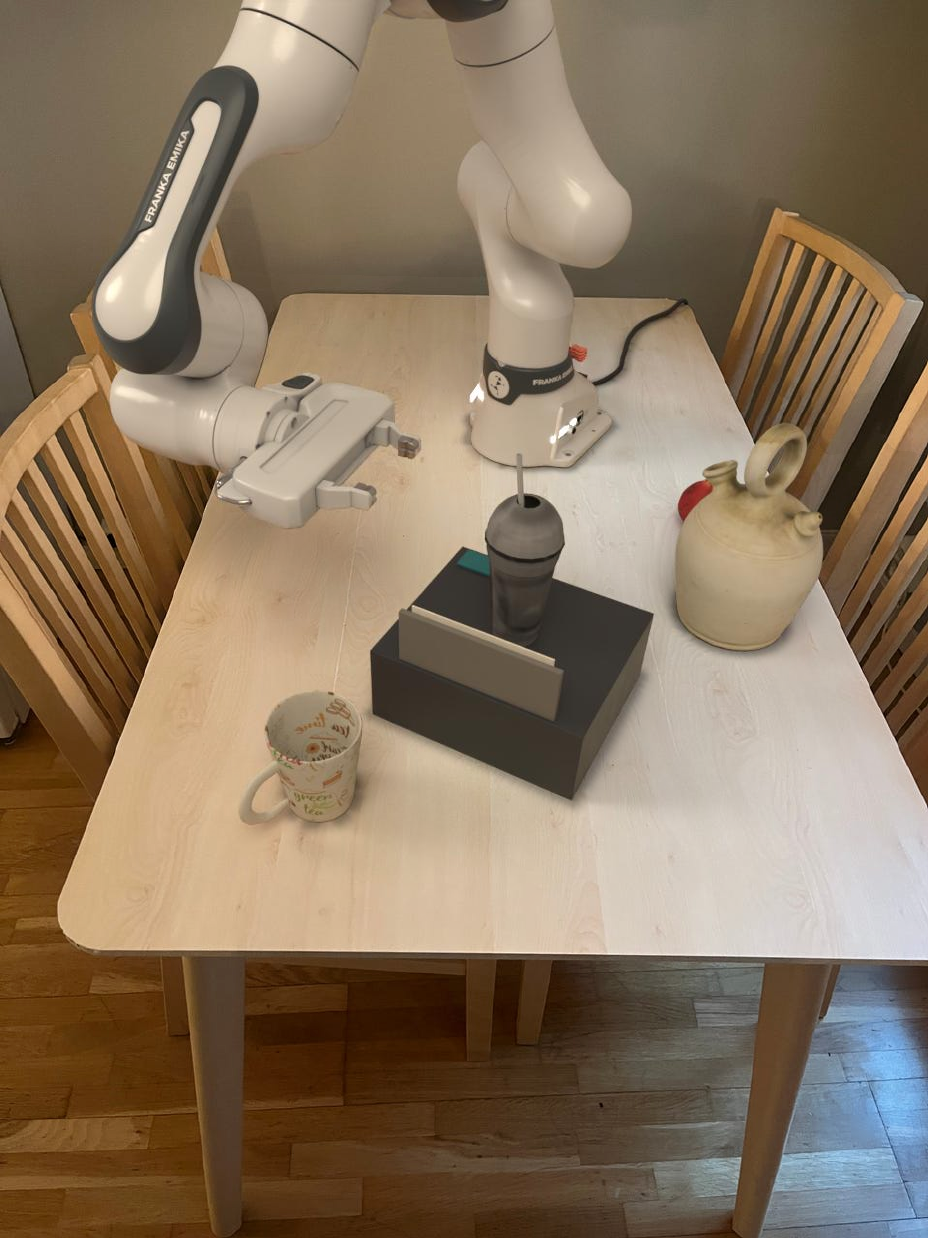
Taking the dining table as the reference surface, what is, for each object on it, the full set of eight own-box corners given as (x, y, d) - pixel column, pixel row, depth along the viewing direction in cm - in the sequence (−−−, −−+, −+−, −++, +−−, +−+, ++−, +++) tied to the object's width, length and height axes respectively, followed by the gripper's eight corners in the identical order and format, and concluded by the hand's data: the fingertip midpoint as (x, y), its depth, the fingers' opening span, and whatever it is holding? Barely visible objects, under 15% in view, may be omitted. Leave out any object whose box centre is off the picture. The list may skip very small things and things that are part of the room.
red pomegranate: (669, 536, 119) (682, 484, 113) (676, 512, 123) (688, 460, 118) (715, 547, 118) (729, 494, 112) (720, 522, 122) (735, 470, 116)
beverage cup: (546, 663, 88) (571, 486, 74) (471, 650, 89) (482, 473, 75) (556, 613, 93) (581, 440, 80) (485, 602, 94) (498, 428, 81)
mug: (384, 794, 87) (382, 723, 80) (280, 880, 80) (267, 810, 73) (324, 747, 91) (317, 675, 84) (220, 825, 83) (203, 753, 77)
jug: (638, 589, 111) (678, 401, 94) (747, 564, 115) (805, 380, 98) (706, 676, 100) (765, 481, 83) (824, 645, 105) (902, 454, 88)
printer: (461, 606, 107) (466, 493, 97) (640, 673, 100) (667, 560, 90) (372, 714, 94) (367, 598, 84) (571, 800, 87) (593, 685, 77)
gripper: (197, 463, 79) (340, 503, 76) (315, 364, 94) (441, 394, 90) (208, 522, 84) (344, 563, 80) (320, 419, 98) (439, 450, 94)
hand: (396, 473), depth 85 cm, fingers open, 8 cm apart
